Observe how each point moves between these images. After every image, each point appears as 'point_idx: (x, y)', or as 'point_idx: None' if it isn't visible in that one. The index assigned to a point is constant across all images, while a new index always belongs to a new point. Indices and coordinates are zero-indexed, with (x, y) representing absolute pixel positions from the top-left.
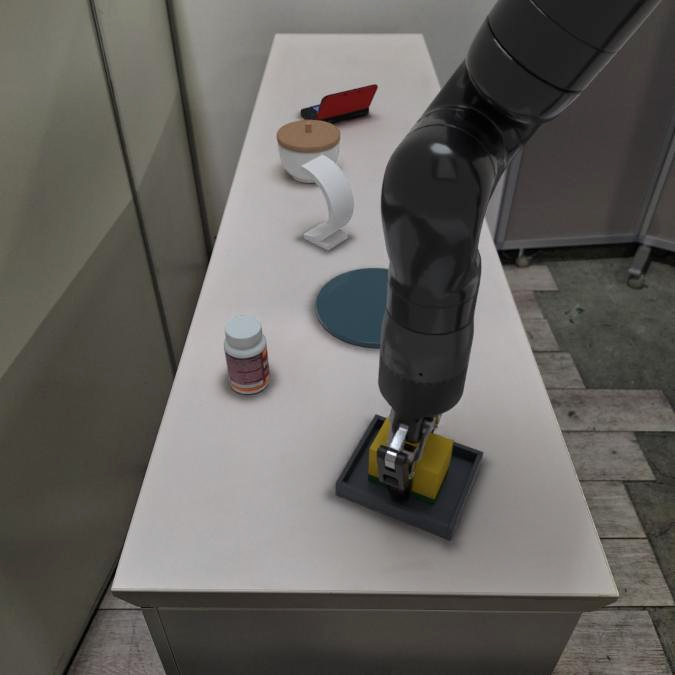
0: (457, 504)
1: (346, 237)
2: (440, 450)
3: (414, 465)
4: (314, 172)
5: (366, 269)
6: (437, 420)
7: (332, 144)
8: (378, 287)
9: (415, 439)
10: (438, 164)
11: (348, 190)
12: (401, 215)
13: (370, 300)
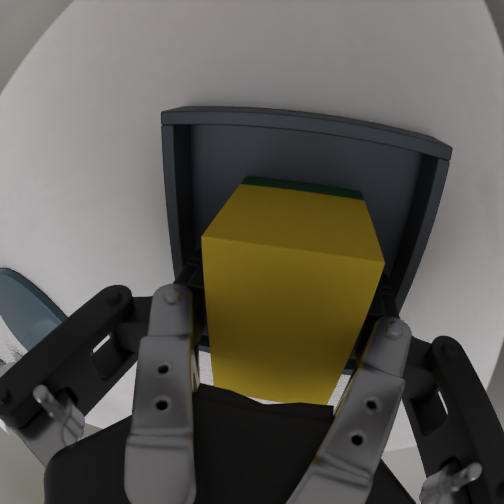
0: (374, 141)
1: (16, 354)
2: (270, 273)
3: (392, 357)
4: (3, 427)
5: (21, 343)
6: (191, 371)
7: None
8: (24, 333)
9: (404, 498)
10: None
11: None
12: None
13: (39, 341)
